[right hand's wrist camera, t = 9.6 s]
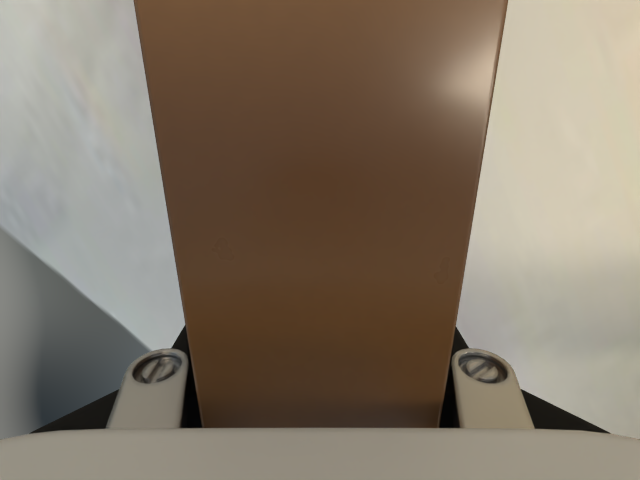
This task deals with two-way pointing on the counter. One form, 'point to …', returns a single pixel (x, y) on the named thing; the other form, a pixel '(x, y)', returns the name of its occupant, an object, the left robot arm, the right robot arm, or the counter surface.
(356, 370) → the bar
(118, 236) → the counter surface
